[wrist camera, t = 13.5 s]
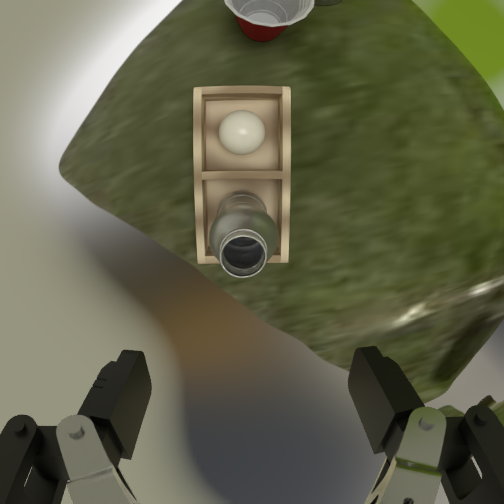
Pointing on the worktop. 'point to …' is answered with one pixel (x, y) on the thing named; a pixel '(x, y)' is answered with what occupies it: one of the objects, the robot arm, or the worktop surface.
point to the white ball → (242, 132)
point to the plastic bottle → (243, 234)
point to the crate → (242, 159)
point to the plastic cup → (268, 16)
